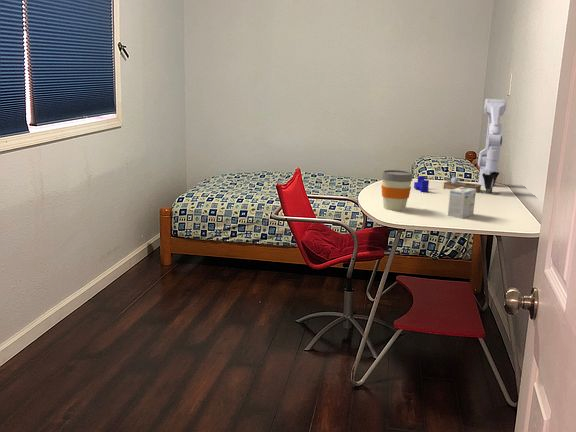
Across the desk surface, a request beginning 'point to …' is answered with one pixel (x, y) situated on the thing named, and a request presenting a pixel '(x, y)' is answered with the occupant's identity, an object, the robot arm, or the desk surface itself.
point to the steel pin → (490, 188)
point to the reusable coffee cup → (396, 189)
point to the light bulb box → (461, 202)
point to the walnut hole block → (461, 185)
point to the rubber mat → (491, 193)
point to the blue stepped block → (421, 184)
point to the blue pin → (454, 180)
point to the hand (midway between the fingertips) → (489, 187)
